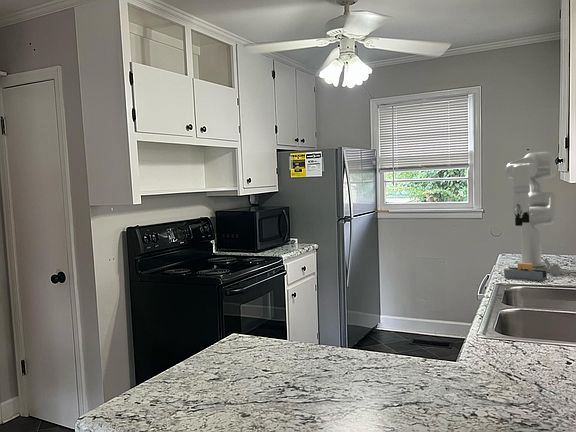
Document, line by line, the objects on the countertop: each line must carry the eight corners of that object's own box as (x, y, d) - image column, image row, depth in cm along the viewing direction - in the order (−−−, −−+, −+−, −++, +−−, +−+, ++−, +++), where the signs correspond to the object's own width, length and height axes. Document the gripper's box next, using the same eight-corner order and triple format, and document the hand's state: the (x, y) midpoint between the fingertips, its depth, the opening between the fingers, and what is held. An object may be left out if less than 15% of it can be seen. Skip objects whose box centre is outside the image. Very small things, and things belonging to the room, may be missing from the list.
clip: (519, 274, 235) (519, 262, 234) (532, 276, 230) (532, 263, 230) (517, 275, 233) (517, 263, 232) (531, 276, 229) (531, 264, 228)
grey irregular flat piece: (560, 274, 235) (560, 258, 234) (559, 275, 234) (559, 258, 233) (543, 273, 239) (543, 257, 238) (543, 274, 238) (543, 258, 237)
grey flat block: (509, 274, 240) (509, 266, 240) (546, 278, 228) (546, 270, 228) (504, 277, 235) (504, 269, 235) (541, 281, 223) (541, 272, 223)
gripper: (519, 188, 247) (520, 221, 249) (507, 191, 235) (508, 226, 237) (535, 187, 242) (536, 221, 244) (523, 191, 229) (524, 227, 232)
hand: (522, 224), depth 240 cm, fingers open, 9 cm apart
